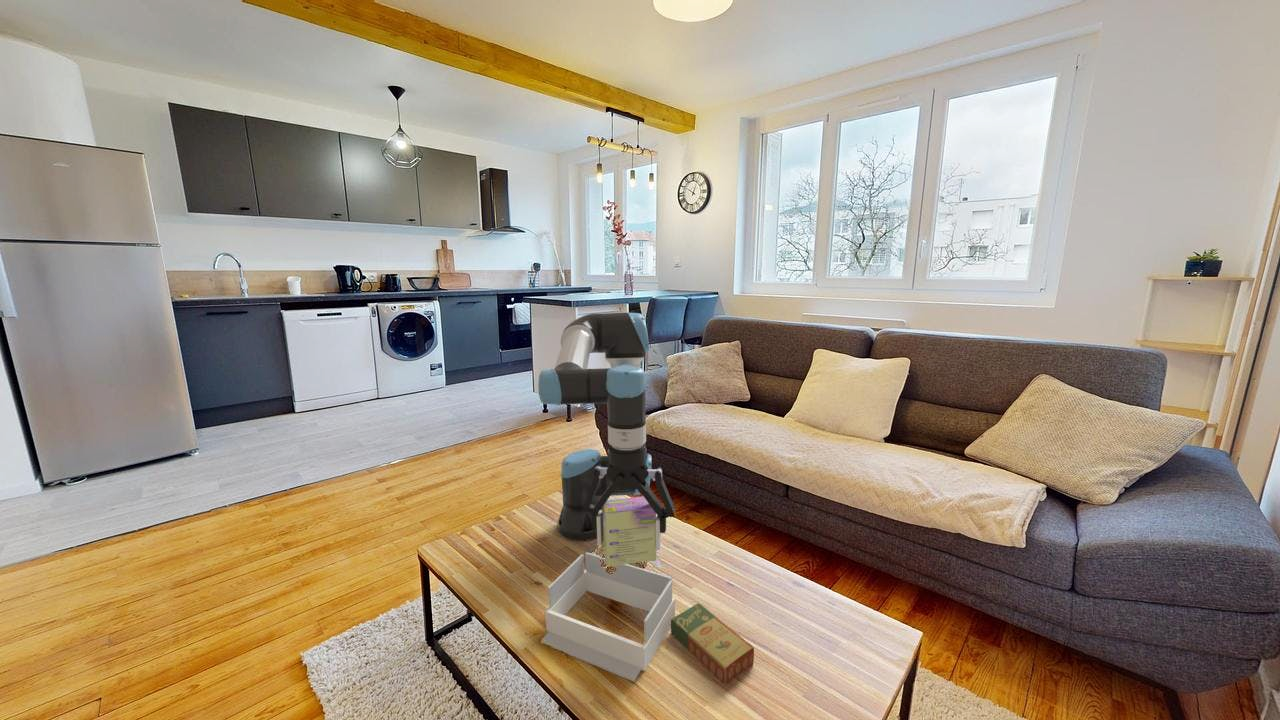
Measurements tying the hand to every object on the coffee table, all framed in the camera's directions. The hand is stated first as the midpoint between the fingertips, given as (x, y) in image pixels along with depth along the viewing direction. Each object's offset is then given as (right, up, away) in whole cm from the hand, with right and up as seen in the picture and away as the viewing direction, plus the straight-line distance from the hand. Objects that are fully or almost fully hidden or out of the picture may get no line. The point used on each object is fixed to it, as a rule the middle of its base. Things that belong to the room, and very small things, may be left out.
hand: (629, 544), depth 96 cm
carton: (+17, -21, -1) cm, 27 cm away
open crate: (-5, -20, +4) cm, 21 cm away
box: (0, -3, +1) cm, 3 cm away
